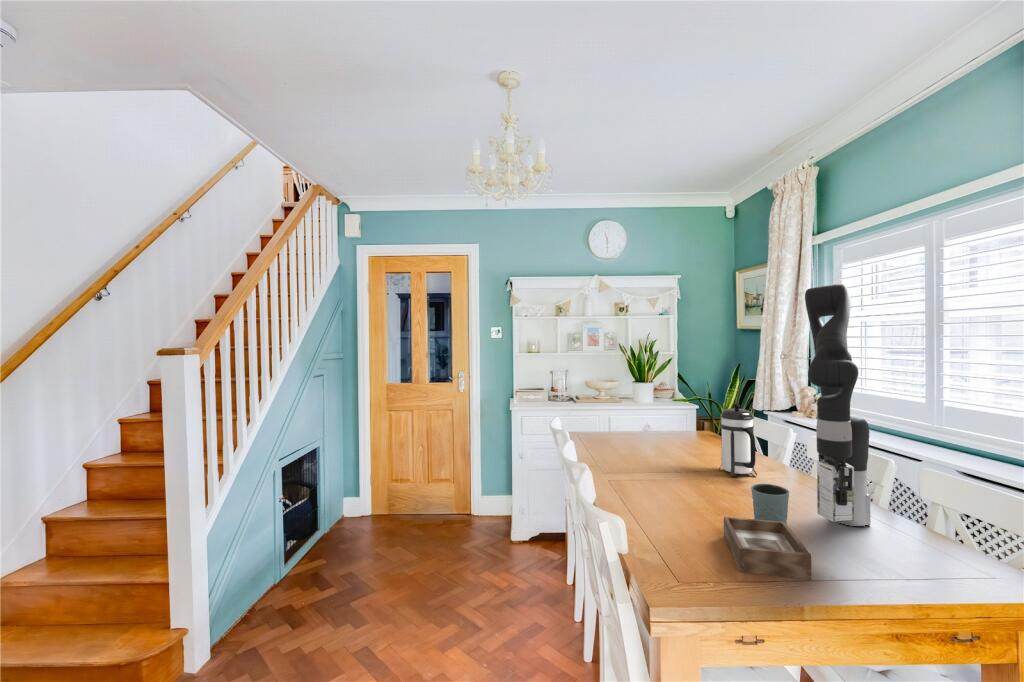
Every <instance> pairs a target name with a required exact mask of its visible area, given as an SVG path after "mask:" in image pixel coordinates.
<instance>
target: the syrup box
mask: <svg viewBox="0 0 1024 682" xmlns="http://www.w3.org/2000/svg"><path fill="white" fill-rule="evenodd" d="M827 463H829V462H824V461H819V460H818V461H816V476H817V478H816V479H817V480H816V488H817V492H816V493H817V495H816V497H817V502H816V503H817V505H816V506H817V509H816V510H817V512H816V513H817V514H818V515H820V516H821V517H823V518H825V519H827V520H829V521H831V522H832V523H838V522H845V521H854V467H853V466H851V465H849V464H847V463H846V467H850V468H852V491H847V505H846V506H844V505H838V504H837V503H836V488H835V481H834V480H833V478H835V477H837V478H839V473H838V472H837V471H836V469H835V467H834V466H833V465H828V464H827ZM838 483H839V481H838ZM847 484H848V482H847ZM843 486H844V485H843Z"/></svg>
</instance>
